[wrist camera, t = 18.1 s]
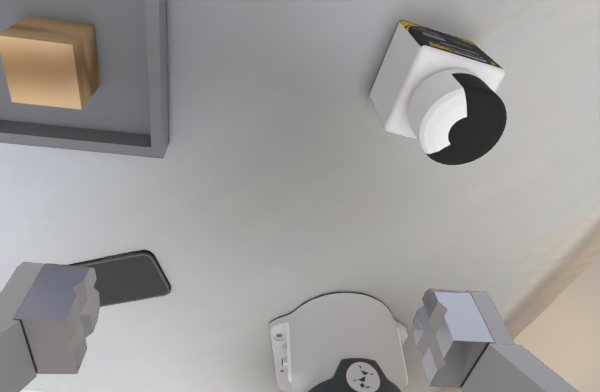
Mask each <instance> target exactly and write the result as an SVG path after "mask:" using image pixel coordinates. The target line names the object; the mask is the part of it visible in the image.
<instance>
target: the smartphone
mask: <svg viewBox="0 0 600 392" xmlns="http://www.w3.org/2000/svg"><path fill="white" fill-rule="evenodd" d="M70 266H81V267H92V268H94V269H95V273H96V278H97V279H96V282H95V284H94V287H93V288H95V289H96V290H97V291H98V292H99V298H100V307H102V306H108V305H113V304H119V303H125V302H131V301H137V300H143V299H148V298H153V297H159V296H165V295H167V294H169V293H170V291H171V286H170V284H169V282H168V280H167V278H166V276H165V275H164V273H163V271H162V269H161V267H160V265H159V264H158V262H157V260H156V258H155V256H154V255H153V254H152V253H151V252H150V251H147V250H142V251H136V252H129V253H126V254H125V253H123V254H118V255H115V256H108V257H104V258H100V259H95V260H90V261H85V262H80V263H75V264H70Z"/></svg>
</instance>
